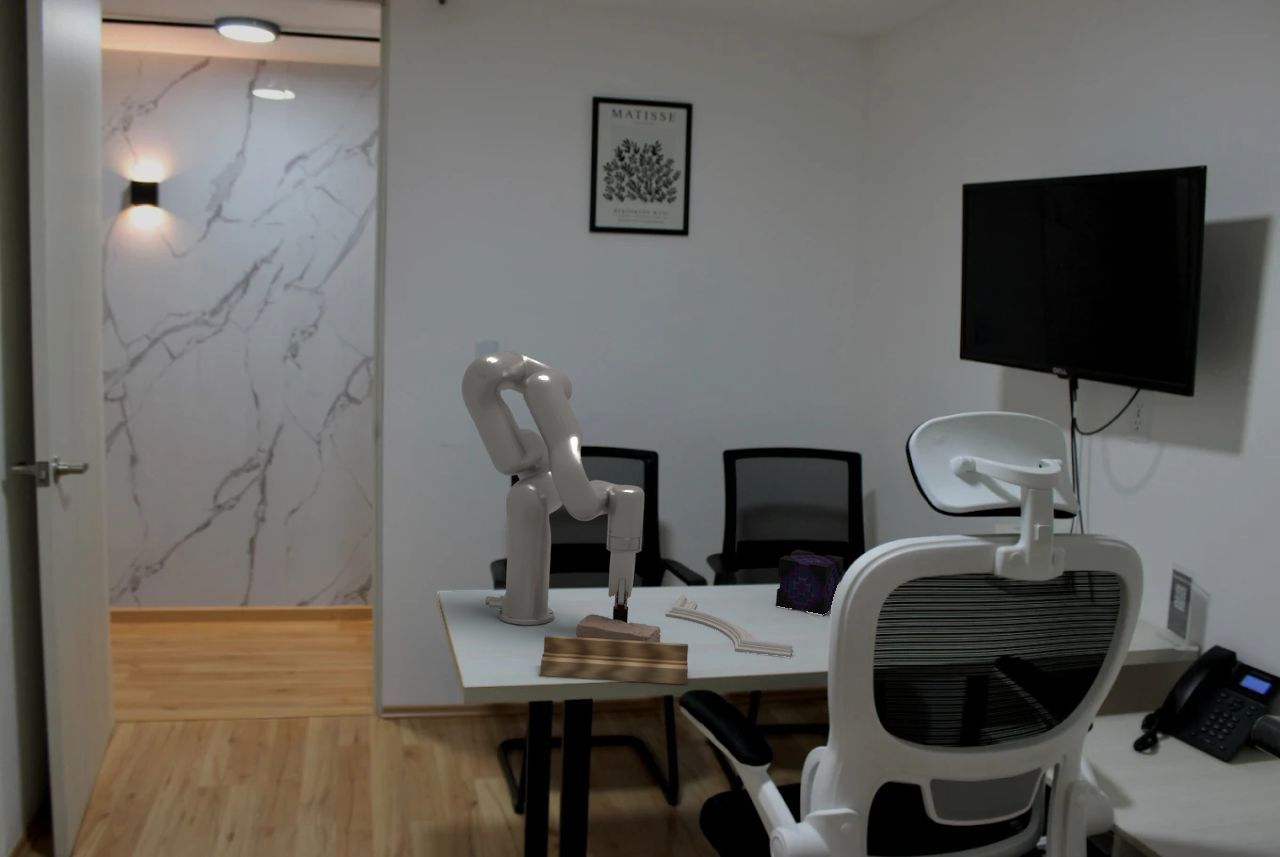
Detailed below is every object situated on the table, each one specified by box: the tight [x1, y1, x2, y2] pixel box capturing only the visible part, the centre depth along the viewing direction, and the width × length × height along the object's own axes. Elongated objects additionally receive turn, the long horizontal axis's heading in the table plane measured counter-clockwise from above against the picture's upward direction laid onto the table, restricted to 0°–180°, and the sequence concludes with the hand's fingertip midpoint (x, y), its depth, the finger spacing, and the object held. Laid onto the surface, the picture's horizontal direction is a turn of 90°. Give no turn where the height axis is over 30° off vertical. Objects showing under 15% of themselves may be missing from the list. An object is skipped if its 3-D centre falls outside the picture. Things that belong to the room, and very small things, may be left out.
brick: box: [575, 614, 661, 642], centre depth 234 cm, size 17×8×5 cm, turn 72°
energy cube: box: [775, 549, 844, 615], centre depth 270 cm, size 12×12×12 cm
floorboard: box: [540, 634, 689, 685], centre depth 217 cm, size 28×10×6 cm, turn 89°
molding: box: [664, 594, 793, 658], centre depth 248 cm, size 42×12×3 cm, turn 33°
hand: (619, 624), depth 242 cm, fingers closed
